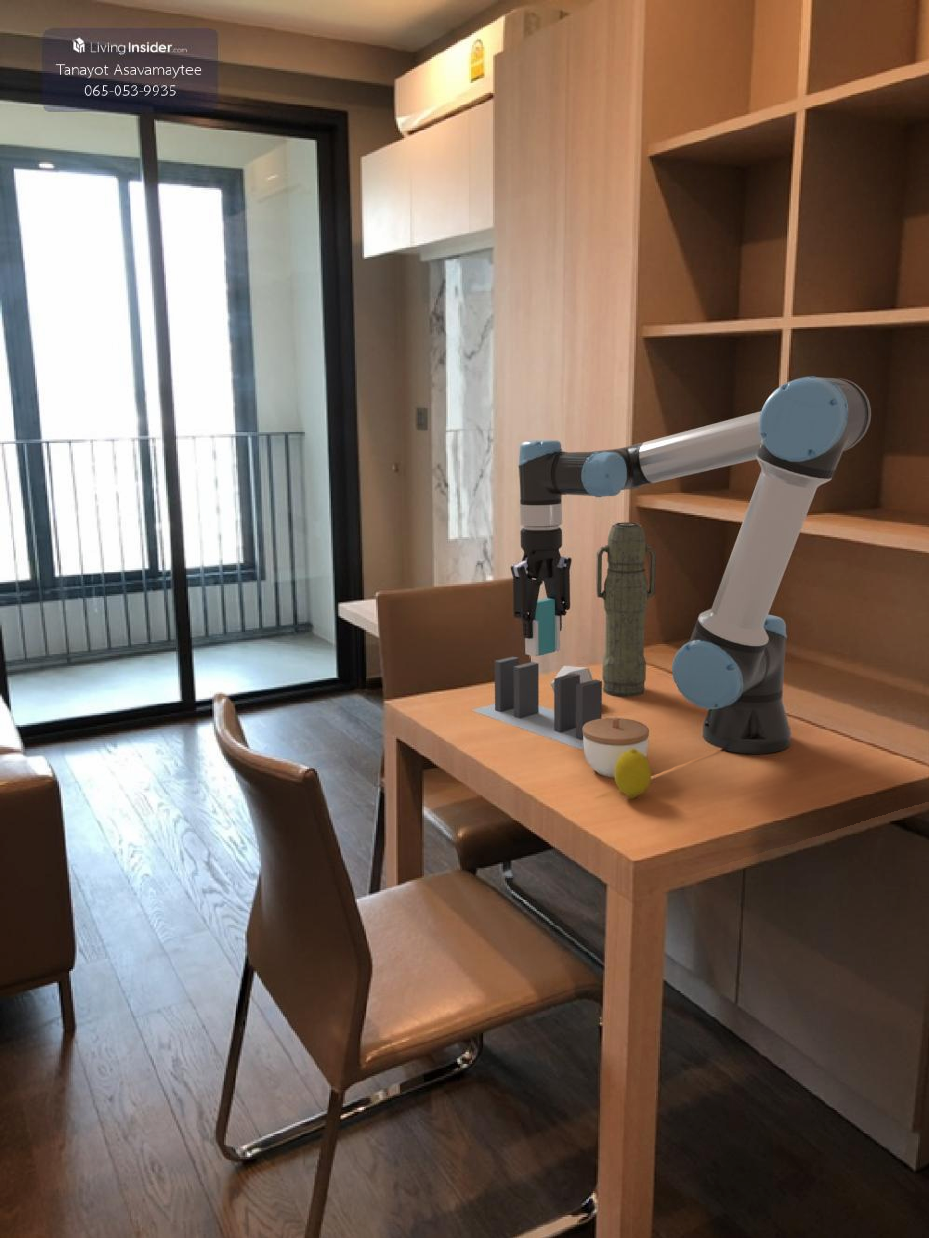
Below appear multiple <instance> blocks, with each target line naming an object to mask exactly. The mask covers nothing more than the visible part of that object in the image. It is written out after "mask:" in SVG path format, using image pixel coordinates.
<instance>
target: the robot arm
mask: <svg viewBox="0 0 929 1238" xmlns="http://www.w3.org/2000/svg"><path fill="white" fill-rule="evenodd" d="M871 417H872V408H871V404H870V400H869V398H868V396H867V394H866V393H865V392H864V390H863V389H862V388H861V387H860V386H859V385H858V384H856V383H855V382H853V381H851V380H848V379H846V378H841V377H816V376H814V375H813V376H805V377H800V378H795V379H793V380H790V381H788V382H786V383H783V384H782V385H780V386H779V387H777V388H776V389H775V390H774V391H773V392H772V393H771V394H770V395H769V397H768V398H767V399H766V401H765V403H764V404H763V406H762V409H761V411H756V412H753V413H750V414H746V415H743V416H738V417H734V418H730V419H728V420H722V421H719V422H716V423H712V424H708V425H705V426H701V427H698V428H697V427H696V428H694V429H693V428H692V429H689V430H685V431H682V432H678V433H675V434H670V435H667V436H663V437H659V438H656V439H652V440H648V441H645V442H644V441H643V442H640V443H635V444H632V445H628V446H624V447H621V448H613V449H604V450H596V451H595V450H594V451H575V452H573V451H570V452H568V451H563V449H562V443H561V441H560V440H556V439H555V440H553V439H552V440H551V439H542V440H541V439H538V440H526V441H525V440H524V441H523V442H522V443H521V444H520V445H519V458H518V460H519V461H518V462H519V463H518V465H517V466H518V477H519V491H520V492H519V494H520V495H519V497H520V499H519V500H520V501H519V502H520V503H519V508H520V509H519V510H520V511H519V513H520V514H519V518H520V519H519V521H520V525H521V526H522V528H521V530H520V531H519V533H520V548H521V549H522V551H523V555H522V556H523V557H522V559H521V562H518V564H511V566H510V571H511V575H512V581H513V582H512V589H513V590H512V592H513V593H512V595H513V596H512V597H513V599H512V600H513V601H512V602H513V617H514V619H518V620H521V622H522V637H523V638H524V643H525V644H524V645H525V648H524V649H525V655H527V656H531V657H540V656H539V649H538V621H535V620H534V619H535V614H536V608H537V602H538V600H539V596H540V595H539V594H540V587H541V585H544V589H545V594H546V598H552V599H555V652H556V651H557V652H559V651H561V632H562V629H563V626H562V624H563V621H562V619H563V618H562V617H563V616H566V615H567V611H568V610H570V609H571V582H570V581H571V579H570V578H571V577H570V576H571V575H570V573H571V572H570V571H571V565H572V562H573V561H572V557H568V556H561V553H560V549H561V548H562V547H563V529H562V528H561V527H560V526H561V525H562V524H563V509H562V508H563V506H562V505H563V503H562V502H563V501H562V500H563V499H562V498H563V496H567V495H569V496H587V497H595V498H603V497H615V496H617V495H619V494H620V493H621V491H626V490H632V489H633V490H634V489H635V490H636V489H639V488H642V487H643V486H647V485H652V484H655V483H659V482H664V481H667V480H673V479H676V478H681V477H685V476H690V475H694V474H699V473H703V472H707V471H710V470H711V471H712V470H715V469H719V468H725V467H729V466H733V465H738V464H741V463H742V464H743V463H745V462H749V461H750V462H751V461H754V460H757V462H758V464H759V467H760V468H761V470H760V473H759V476H758V478H757V480H756V481H757V482H756V485H755V487H754V490H753V493H752V495H751V499H750V501H749V504H748V506H747V509H746V511H745V514H744V518H743V521H742V524H741V527H740V529H739V532H738V535H737V537H736V540H735V543H734V546H733V548H732V550H731V554H730V556H729V559H728V562H727V565H726V567H725V570H724V573H723V576H722V578H721V581H720V584H719V587H718V589H717V592H716V595H715V598H714V601H713V603H712V606H711V608H709V609H707V610H705V611H703V612H700V613H699V615H698V617H697V620H696V622H695V626H694V628H693V631H692V633H691V637H690V639H689V641H688V642H687V643H684V644H682V646H681V648H679V649H678V651H677V652H676V654H675V656H674V657H673V660H672V665H671V672H672V678H673V682H674V684H676V687H677V690H678V692H679V693H680V694H681V695H682V696H683V697H684V698H685V699H686V700H687V701H688V702H690V703H691V704H693V705H695V706H697V707H699V708H702V709H705V710H706V709H707V710H708V711H707V714H706V717H705V720H704V721H703V724H702V738H703V740H704V741H706V742H707V743H708V744H710V745H711V746H714V747H717V748H719V749H721V750H724V751H727V752H732V753H739V754H749V755H751V754H753V755H754V754H755V755H756V754H761V755H762V754H771V753H777V752H781V751H784V750H785V749H788V748H789V746H790V745H791V735H792V731H791V726H790V725H789V720H788V717H787V712H786V710H785V706H784V702H783V693H784V692H783V691H784V690H783V689H784V677H785V675H784V674H785V661H786V660H785V659H786V645H787V644H786V643H787V642H786V641H787V638H788V636H787V630H786V629H787V624H786V622H785V620H784V619H783V618H782V617H780V616H776V615H772V614H770V613H769V612H770V611H771V607H772V605H773V602H774V600H775V598H776V595H777V592H778V589H779V587H780V584H781V581H782V579H783V577H784V574H785V571H786V569H787V567H788V564H789V561H790V560H791V559H790V558H791V556H792V553H793V551H794V550H795V546H796V543H797V541H798V538H799V535H800V533H801V531H802V527H803V525H804V523H805V520H806V518H807V515H808V512H809V510H810V507H811V504H812V503H813V499H814V497H815V494H816V491H817V489H818V488H819V487H820V486H821V485H823V484H825V483H828V482H830V481H832V479H833V477H834V474H835V472H836V469H837V466H838V464H839V462H840V460H841V456H842V454H843V452H846V451H847V450H849V449H851V448H853V447H855V446H856V444H858V443H859V442H860V441H861V440H862V438H864V436H865V434H866V433H867V431H868V429H869V426H870V424H871Z"/></svg>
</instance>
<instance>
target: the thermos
mask: <svg viewBox="0 0 929 1238" xmlns="http://www.w3.org/2000/svg"><path fill="white" fill-rule="evenodd" d="M604 552H606V553H607V555H606V556H607V563H608V566H607V567H608V568H607V571H606V577H605V579H604V581H603V584H602V580H603V579H602V578H603V577H602V574H603V573H602V571H603V554H604ZM647 552H648V553H649V575H648V577H649V579H648V580H649V581H648V580H647V577H646V569H645V562H646V553H647ZM656 561H657V553H656V552H655V550H654V549H653V548H652V546H647V545H646V536H645V532H644V528H643V526H642V525H641V524H639V523H638V522H628V521H627V522H616V523H615V524H613V525H611V528H610V530H609V534H608V536H607V544H606V545H605V546H601V547H600V548H599V550H597V552H596V571H595V572H596V573H595V574H596V577H595V579H596V581H595V583H596V588H595V589H596V597H597V598H599V599H600V598H602V600H603V609H604V612H605V652H604V655H603V658H602V676H601V677H602V692H604V693H605V694H607V695H610V696H615V697H626V698H627V697H637V696H641V695H643V694H645V692H646V690H645V682H646V680H647V676H646V675H647V661H646V659H645V655H644V653H645V652H644V649H645V647H644V645H645V613H646V611H647V609H648V600H649V598H650V599H651V597H652V596H654V595H655V594H656V564H657V563H656ZM602 586H603V587H602ZM602 588H603V590H602Z"/></svg>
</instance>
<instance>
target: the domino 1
mask: <svg viewBox="0 0 929 1238" xmlns="http://www.w3.org/2000/svg"><path fill="white" fill-rule="evenodd" d="M518 665H520V657H517V656H516V657H515V656H509V657H505V658H501V659H498V660H497V659H496V660H494V704H495V710H496V711H499V712H503V711H506V710H510V709H513V708H514V666H518Z"/></svg>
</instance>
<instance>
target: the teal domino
mask: <svg viewBox="0 0 929 1238" xmlns="http://www.w3.org/2000/svg"><path fill="white" fill-rule="evenodd" d="M534 620H535V621H538V649H539V656H538V657H540V656H544V655H548V654H552V653H555V652H556V650H555V599H552V598H547V597H546V598H541V599H538V602H537V608H536V614H535V619H534Z"/></svg>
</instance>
